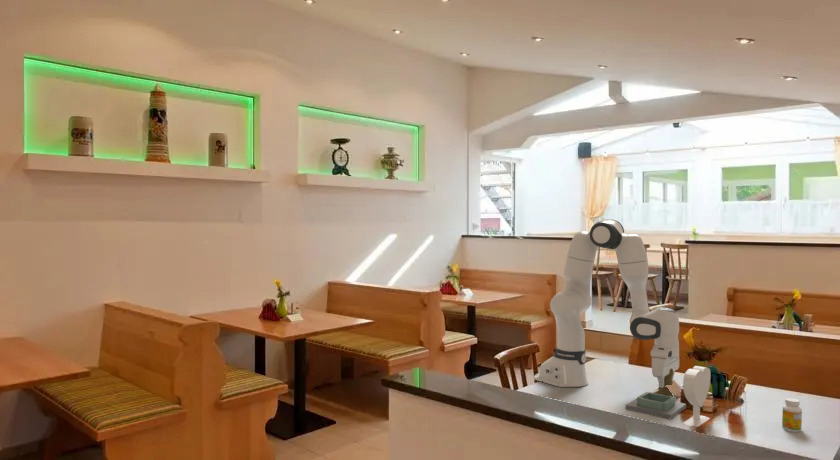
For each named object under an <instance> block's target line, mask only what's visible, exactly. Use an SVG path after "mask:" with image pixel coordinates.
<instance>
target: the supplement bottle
mask: <svg viewBox="0 0 840 460" xmlns="http://www.w3.org/2000/svg"><path fill="white" fill-rule="evenodd" d="M784 403H785V404H783V406H782V415H781V416H782V417H781V418H782V419H781V421H782V423H781V426H782V427H781V428H782V429H784V430H785V429H786V431H788V430H790V431H789V432H793V431H799V432H801V431H802V423H803V422H802V419H803V409H802V407H800V404H801V403H800V400H799V399H797V398H792V397H788V398H787V397H786V398H785V399H784Z"/></svg>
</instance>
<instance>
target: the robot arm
mask: <svg viewBox="0 0 840 460" xmlns="http://www.w3.org/2000/svg"><path fill="white" fill-rule="evenodd" d="M600 248H602V249H607V250H612V251H613V250H614V251H615V253H616V258H617V264H618V269H619V272H620V276H621V278H622V280H623V282H624V283H625V284H626V286H627V289H628V290H629V294H630V295H629V296H630V301H631V307H632V308H631V309H632V310H631V311H632V313H631V316H630V320H629V331H630V333H631V335H632V336H633V337H634V338H635V339H637V340H641V341H647V340H648V341H649V340H650V341H651V340H654V345H653V346H652V348H651V350H650V356H651V374H652V376H653V377H654V378H657V381H658V382H657V383H658V388H659V387H661V388H663V387H664V386H665V383H664V377H665V376H666V375H668V374H669V372H670V369H673V375H672V383H674V376H675V374H676V373H675V371H678V369H679V368H680V341H679V334H680V320H679V319H680V318H679V314H678V313H677V311H676V310H674V309H673V308H669V307H665V306H658V307H656V308H655V309H653V310H650V307H649V300H648V294H647V282H648V280H649V279H648V278H649V261H648V256H647V255H648V254H647V250H646V247H645V244H644V242H643V239H642V237H641V236H640V235H639V234H635V233H625V228H624V226H623V224H622V223H621V222H620V221H618V220H615V219H610V218H609V219H608V218H607V219H606V218H605V219H602V220H600V221H597V222H595V223H594V224H593V225H592V226H591V227H590V230H589V231H586V230H582V231H577V232H575V233H574V235H573V236H572V239H571V242H570V245H569V248H568V251H567V256H566V261H565V264H564V265H565V266H564V270H563V276H564V279H565V288H564V290H562V291H560V292H559V291H558V292H557V293H556V294H555V295H554V296H553V297H552V298H551V300H550V303H549V309H550V311H551V312H552V314H553V316H554V319H555V324H556V325H555V326H556V329H557V330H556V332H557V333H556V334H557V342H556V343H557V346H556V347H555V348H553V349H552V350H551V354H552V353H553V354H552V355H553V356H551V357H550V358H548V359H546V360H545V361H544V362H542V363H541V365H540V367H539V370H538V371H539V372H538V373H536V374H534V376H533V380H535V381H539V382H541V383H545V384H549V385H552V386H556V387H559V388H567V387H570V388H571V387H572V388H577V387H579V388H580V387H585V386H587V385H588V384H589V380H588V377H587V372H586V358H587V357H586V349H585V347H586V346H585V338H586V337H585V336H586V334H585V333H586V332H585V329H584V327H583V325H582V319H581V315H582V314H584V313H585V312H586V311H587V310H589V308H590V307H591V305H592V302H593V299H592V295H591V282H592V281H591V280H592V275H593V270H594V264H595V260H596V254H597V252H598V250H599V249H600ZM542 381H543V382H542Z"/></svg>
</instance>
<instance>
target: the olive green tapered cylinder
mask: <svg viewBox="0 0 840 460" xmlns="http://www.w3.org/2000/svg"><path fill="white" fill-rule="evenodd" d="M672 375H673V369H670V372H669V374H668V375H666V376H665V377H664V383H665V386H666V385H672V384H673V383H674V382H672ZM673 385H674V384H673ZM665 386H664V387H663V388H661V387H659V386H658V388H657V394H662V395H667V396H672V397H673V395H672V393H671V392H670V391H669V389H668V388H667V387H665Z"/></svg>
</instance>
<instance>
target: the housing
mask: <svg viewBox="0 0 840 460" xmlns="http://www.w3.org/2000/svg"><path fill="white" fill-rule="evenodd" d="M686 409H687V404H686V403H684V402H680V401H676V397H675V396H674V397H672V396H667V395H662V394H658V392H657V393H656V392H649V391H645V392H644V393H642V394H641V395H638V396H637V397H636V398H635V399H633V400H631V401H630V402H628V403H626V404H625V410H629V411H633V412H638V413H642V414H647V415H651V416H655V417H659V418H664V419H668V420H672V419H674V418H675V417H676V416H677V415H679V414H680V413H682V412H683V411H684V410H686Z"/></svg>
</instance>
